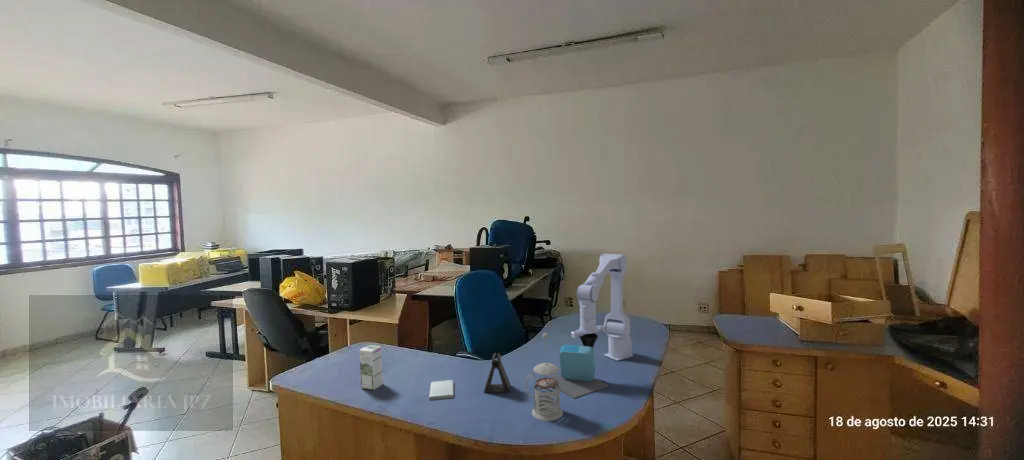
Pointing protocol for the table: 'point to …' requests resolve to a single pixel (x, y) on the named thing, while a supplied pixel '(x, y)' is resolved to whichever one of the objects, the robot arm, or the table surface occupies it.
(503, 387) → the phone stand
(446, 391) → the hard drive
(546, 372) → the french press
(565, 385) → the mat
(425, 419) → the table surface
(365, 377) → the syrup box
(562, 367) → the data package
